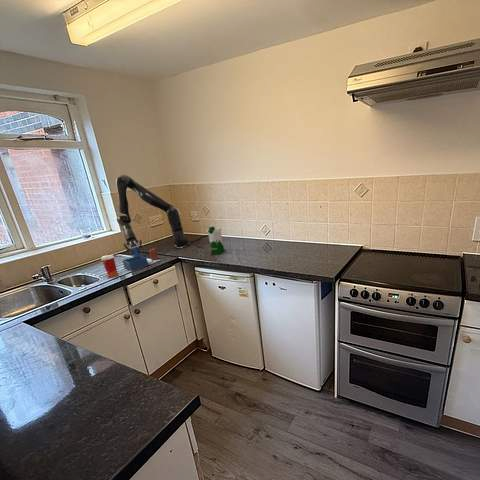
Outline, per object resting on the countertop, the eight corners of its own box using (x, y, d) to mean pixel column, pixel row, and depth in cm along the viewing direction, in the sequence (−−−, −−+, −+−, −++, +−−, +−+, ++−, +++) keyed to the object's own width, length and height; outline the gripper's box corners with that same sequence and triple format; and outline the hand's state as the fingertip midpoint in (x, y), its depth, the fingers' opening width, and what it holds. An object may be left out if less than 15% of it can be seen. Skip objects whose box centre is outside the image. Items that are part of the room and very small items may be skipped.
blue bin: (141, 262, 222) (139, 255, 220) (148, 264, 214) (146, 257, 212) (124, 267, 214) (122, 260, 212) (131, 270, 206) (129, 262, 204)
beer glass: (110, 274, 203) (103, 255, 198) (121, 273, 203) (115, 253, 198) (105, 279, 196) (98, 258, 190) (116, 277, 196) (110, 257, 191)
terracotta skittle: (156, 258, 229) (153, 248, 226) (158, 259, 226) (156, 249, 223) (150, 260, 226) (147, 249, 223) (153, 260, 223) (150, 250, 220)
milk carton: (210, 254, 222) (204, 228, 214) (217, 250, 229) (212, 225, 222) (219, 254, 218) (214, 228, 211) (226, 251, 225) (221, 225, 218)
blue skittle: (138, 256, 240) (136, 246, 237) (141, 256, 238) (138, 247, 235) (133, 257, 238) (130, 248, 235) (135, 258, 235) (132, 248, 232)
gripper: (119, 234, 234) (125, 252, 228) (138, 230, 240) (145, 248, 235) (121, 240, 240) (127, 257, 234) (139, 236, 246) (146, 253, 241)
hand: (136, 252), depth 234 cm, fingers closed on blue skittle, 4 cm apart
